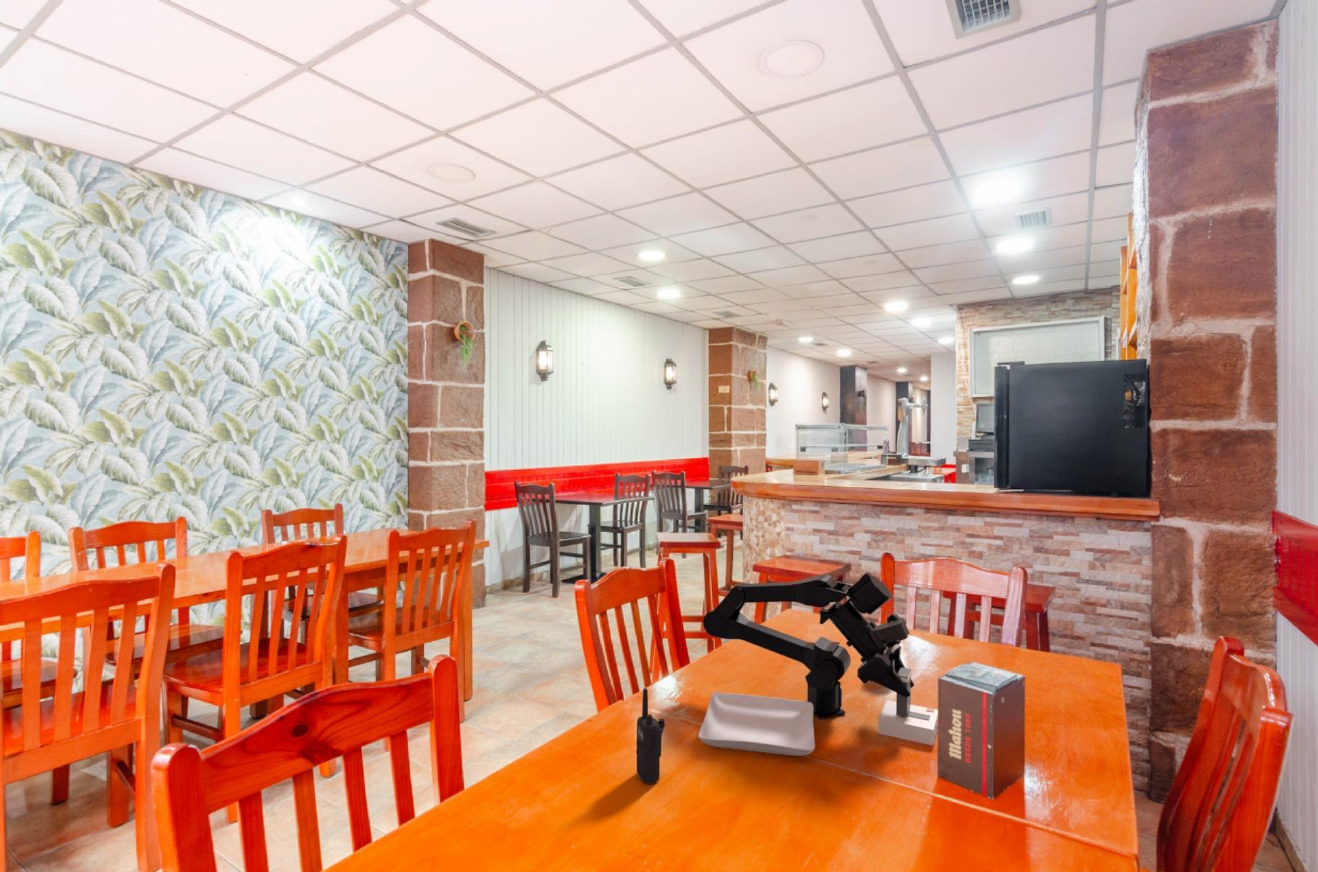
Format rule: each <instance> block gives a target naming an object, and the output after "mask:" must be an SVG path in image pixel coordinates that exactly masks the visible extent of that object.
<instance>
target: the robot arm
mask: <svg viewBox="0 0 1318 872" xmlns="http://www.w3.org/2000/svg"><path fill="white" fill-rule="evenodd" d="M846 597H848V598H847V599H846V600H845V601H844V602H841V601H843V600H844V599H845V598H846ZM892 598H893V594H892V592H891V590H890V589H889V587H888V586H887V585H886V584H885V583H884V582H883V581H882V580H880V579H879V578H877V577H876V576H874V575H872V574H871V573H870V571H866V572H865V573H864V574H863V575H862V576H861V577H860V579H858V580H857V581H856V582H855V583H854V584H848V583H845V582H841V581H837V580H836V579H835V578H833V576H832V575H829V574H825V573H823V574H819V575H815V576H810V577H805V578H804V579H800V580H796V581H779V582H777V581H776V582H756V583H754V582H752V583H748V582H747V583H746V582H739V583H738V584H736V585H734V586H733V587H731V588H730V590H729V592H728V593H727V595H725V597H724V598H723V599H722V600H721V601H720V602H719V603H718V604H717V606H716V607H715V608H713V609H712V610H709V611H708V612H707V613H706V614H705V615H704V617H703V620H702V624H703V627H704V628H703V629H704V630H705V633H706V634H708V635H709V636H710V637H713V638H718V639H723V640H741V641H744V642H747V643H749V644H752V645H754V646H757V647H759V648H762V649H764V650H767V651H770V652H772V653H775V654H778V655H780V656H783V657H785V658H788V659H791V660H794V661H796V662H799V663H800V664H803V665H804V667H805V668H807V669H808V670H809V671H808V673H806V675H805V677H804V678H805V682H806V684H807V689H806V690H807V694H806V697H807V701H806V702H811V703H812V704H813V706H814V713H813V716H816V717H817V718H819V719H820V720H821V719H827V718H833V717H837V716H841V715H845V714H846V711H845V710H844V709H843V708H842V707H843V706H842V705H843V703H842V702H843V700H842V697H843V694H842V693H843V689H842V687H841V684H842V683H841V681H840V680H841V679H842V678H843V677H844V675H845V674H846V672H847V671H848V669H849V668H850V666H851V661H852V660H851V655H850V654H849V652H848V650H847V648H846V647H844V646H842V645H840V641H832V640H830V639H828V638H826V637H824V636H820V637H819V638H818V639H817V640H816V642H813V641H812V642H811V641H807V640H803V639H801V638H798V637H795V636H793V635H790V634H787V633H784V632H782V631H779V630H778V629H777V630H776V629H774V628H771V627H769V626H766V625H762V624H760V623H757V622H754V621H752V620H749V619H748V618H747V617H746V616H745V615H744V614H743V613H742V612H741V611H742V610H743V608H744V606H745V605H746V604H748V603H749V604H750V603H751V604H753V603H784V602H785V603H788V602H789V603H791V602H792V603H798V604H799V605H803V606H808V607H814V608H821V610H819V616H820V617H819V624H820V625H824V624H825V623H826V622H827V621H828V620H829V621H830V622H831V623H832V624H833V625H834V627H835V628H836V629H837V630H838V631H839V632H840V633H841V635H842V636H843V637H844V638H845V639H846V640H847V641H846V642H845V644H846V646H847V647H849V648H850V647H852V648H854V650H855V651H856V652H857V653H858V655H860V656H861V658H860V660H859V661H860V662H861V664H860V665H859V667H858V669H856V671H857V672H856V673H857V675H856V676H857V677H858V679H859V680H860V681H861V683H862V684H863V685H866V684H867V683H868V682H871V683H872V682H874V683H875V684H878V685H879V686H882V687H884V688H886V689H888V690H891V691H893V692H895V693H896V694H897V693H898V694H900V695H902V696H904V697H906V698H907V697H909V696H910V692H909V690H908V689H907V687H906V686H905V684H904V683H903V681H902V680H901V678H900V677H899V676H898V672H899V670H900V668H901V667H902V668H906V667H905V665H904V663H903V661H902V659H901V653H902V646H901V642H902V641H904V640H906V639H908V637H909V635H910V631H909V628H908V627H907V621H906V620H904V618H903V616H902V617H900V616H899V615H898V614H897V613H896V612H895V613H891V614H889V615H888V616H887V618H886V622H883V623H882V624H879V625H878V624H877V623H876V622H874V621H872V620H870V621H869V620H867V619H866V617H865V616H864V615H865V614H867V615H869V616H870V615H871V616H872V615H873V614H874V613H875V612H876V611H877V610H878V609H880V608H881V607H882V606H883V605H884V604H886V603H887V602H889V601H890V600H891V599H892ZM831 603H832V605H831V606H830V607H828V606H829V605H830V604H831ZM825 607H828V608H825ZM896 644H897V645H898V644H900V646H899V647H898V648H897V649H896V650H895V649H894V648H893V647H894V646H895V645H896ZM914 687H915V683H914V681H913V680H912V679H911V689H912V688H914Z"/></svg>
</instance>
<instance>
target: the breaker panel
mask: <svg viewBox="0 0 1318 872" xmlns="http://www.w3.org/2000/svg"><path fill="white" fill-rule="evenodd" d="M938 710H939V709H936V708H932V707H931V708H930V707H925V706H921V705H916V704H911V703H910V710H909V713H908V715H907V717H905V716H900V715H896V701H893V700H890V699H888V700H886V702H885V704H884V706H883V708H882V710H881V713H880V715H879V718H878V732H877V733H878V734H880V735H884V736H888V737H892V738H896V739H901V740H902V739H903V740H905V741H906V740H907V741H911V742H914V743H915V742H916V743H920V744H925V745H928V746H929V745H930V746H934V744H935V740H936V737H937V732H938V729H937V720H938Z"/></svg>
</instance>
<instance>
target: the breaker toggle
mask: <svg viewBox="0 0 1318 872" xmlns="http://www.w3.org/2000/svg"><path fill="white" fill-rule="evenodd" d="M898 676H899V677H900V678H901V680H902V681H903V683H904V684H905V686H906V687H907V689H908V690H909V692H910V696H909V697H907V698H906V697H904V696H902V695H900V694H898V693H896V701H895V702H896V715H900V716H905V717H907V715H908V713H909V710H910V704H911V701H912V700H911V699H912V697H911V696H912V695H911V694H912V693H911V692H912V691H911V690H912V688H911V680H912V668H907V667H905V668H902V667H901V668H900V670H899V672H898Z"/></svg>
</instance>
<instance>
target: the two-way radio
mask: <svg viewBox="0 0 1318 872" xmlns="http://www.w3.org/2000/svg"><path fill="white" fill-rule="evenodd" d="M648 690H649V689H648V688H646V687H645V688H643V689H642V706H641V708H642V709H641V710H642V711H641V716H639V717H638V718H637V719H636V742H635V743H636V749H635V750H636V752H635V753H636V774H637V776H638V778H640V780H641V781H642V782H643V784H645V785H652V784H656V783H657V782H658V781H659V780H660V768H661V767H660V766H661V765H660V763H661V762H660V760H661V759H660V758H661V757H662V739H663V732H664V728H665V727H666V721H665V720H666V719H664V718H659V719H658V720H657V719H656V718H655V717H653V715H652V714H650V713H649V695H648V693H649V692H648Z"/></svg>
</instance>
